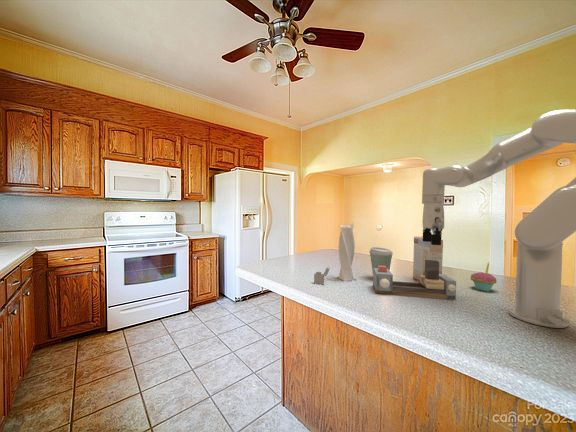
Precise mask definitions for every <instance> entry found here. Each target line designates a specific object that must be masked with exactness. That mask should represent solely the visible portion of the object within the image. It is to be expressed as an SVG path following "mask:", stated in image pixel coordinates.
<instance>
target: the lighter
mask: <svg viewBox="0 0 576 432" xmlns="http://www.w3.org/2000/svg"><path fill="white" fill-rule="evenodd" d="M330 270H331V267H330V266H327V267H326V268H325V270H324V272H323V273H322V271H316V272H315V273H314V274H313V284H314V283H316V284H315V285H322V286H323V285H324V284H325V277H327V276H328V273H329V272H330Z"/></svg>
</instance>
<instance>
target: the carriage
mask: <svg viewBox="0 0 576 432" xmlns="http://www.w3.org/2000/svg"><path fill="white" fill-rule="evenodd" d="M419 283H421V284H422V285H423V286H425V287H426V288H427V289H441V290H444V281H442V280H441V279H439V262H438V261H436V260H425V276H423V275H420V282H419Z"/></svg>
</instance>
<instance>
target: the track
mask: <svg viewBox="0 0 576 432" xmlns="http://www.w3.org/2000/svg"><path fill="white" fill-rule="evenodd" d="M372 287H373V289H374V292H375V294H376V295H385V296H386V295H388V296H399V297H412V298H413V297H415V298H426V299H427V298H428V299H440V300H452V299H453V297H454V300H453V301H456V300H457V295H456V296H453V297H452V296H451V295H448V299H447V295H446V290H441V289H427V288H426V287H425V286H423V285H422V284H421V283H420V282H410V281H399V280H398V281H396V280H393V291H383V290H376V288H375V286H374V285H373V284H372ZM376 291H377V293H376ZM378 292H379V294H378ZM387 292H388V293H389V294H388V293H387ZM380 293H381V294H380ZM382 293H383V294H382ZM386 293H387V294H386ZM390 293H392V295H390ZM449 296H450V298H449ZM451 297H452V299H451Z"/></svg>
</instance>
